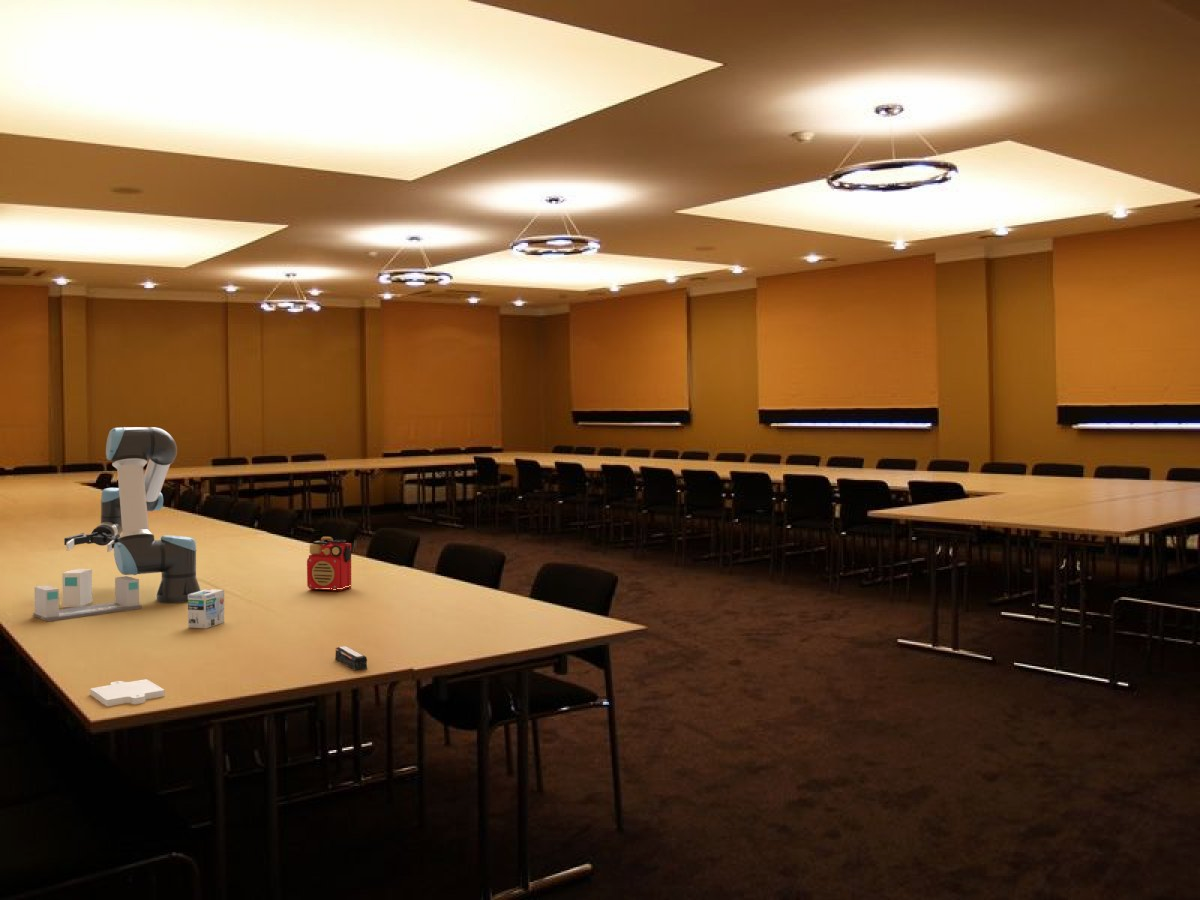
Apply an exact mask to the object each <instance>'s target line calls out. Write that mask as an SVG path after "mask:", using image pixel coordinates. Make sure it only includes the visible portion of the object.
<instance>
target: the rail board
mask: <svg viewBox="0 0 1200 900" xmlns="http://www.w3.org/2000/svg"><path fill="white" fill-rule="evenodd" d="M140 609H142V605H140V604H139V605H136V606H129V607H127V606H124V605H120V604H117V603H115V601H114V602H106V603H98V604H92V605H90V604H89V605H84V606H82V607H66V608H62V609H60V608H59V616H55V617H48V618H45V617H43V616H40V615H37V614H35V612H33V613H32V616H33V617H35V618H37V619H39V620H43V621H45V622H54V621H59V620H68V619H75V618H83V617H89V616H97V615H103V614H112V613H117V612H118V613H119V612H126V611H133V610H140Z"/></svg>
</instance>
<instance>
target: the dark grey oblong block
mask: <svg viewBox="0 0 1200 900" xmlns="http://www.w3.org/2000/svg"><path fill="white" fill-rule="evenodd" d="M334 657H335V658H334V660H336V661H337V662H339V663H341V664H342V665H344V666H346V667H347V668H349V669H351V670H353V671H354V672H357V671H365V670H368V665H367V663H368V658H367V656H365V655H364V654H362V653H360V652H358V651H356V650H355V649H352V648H351V647H349V646H346V645H345V646H337V647H335V655H334Z"/></svg>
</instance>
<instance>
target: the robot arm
mask: <svg viewBox="0 0 1200 900" xmlns="http://www.w3.org/2000/svg"><path fill="white" fill-rule="evenodd" d="M177 455H178V446H177V444H176V441H175V439H174V438H173V437H172V435H171V434H170V433H169V432H167V431H166V430H164V429H163V428H160V427H152V426H151V427H143V426H142V427H140V426H139V427H134V426H133V427H130V426H129V427H127V426H123V427H113V428H112V429H111V430H109V433H108V435H107V439H106V445H105V456H106V457H105V458H106V460H108V461H111V463H112V464H111V465H112V467H114V468H115V469H116V470H117V480H118V487H108V488H104V489H102V491H101V496H100V497H101V499H100V504H101V505H100V524H99V525H98V526H96V527H94V528H93V530H92V531H91V533H88V534H85V533H84V532H81V533H79V534H75V535H72V536H67V537H64V539H63V540H64V541H63V542H64V546H66V547H65V548H66V551H68V552H69V551H70V550H71V549H73V548H74V547H75V546H78V545H82V544H87V545H90V544H91V545H92V544H95V545H97V546H107V547H106V552H107V553H110V552H111V551H113V556H114V561H115V564H116V569H117V570H118V571H119V573H120V574H121V575H125V576H130V575H131V576H132V575H133V576H136V575H145V574H156V573H161V580H160V584H159V586H158V589H157V591H156V602H157V603H166V604H167V603H169V604H175V603H188V594H191V593H195V592H198V591H202V589H201V587H200V585H199V582H198V579H197V545H196V540H195V539H194V538H192V537H190V536H182V535H172V534H171V535H168V534H167V535H164V534H163V535H161V536H160V539H156V540H155V535H154V533H152V532H151V530H150V528H149V515H148V512H153V511H160V510H162V508H163V505H164V496H163V493H162V492H161V491H162V489H163V485H164V484H165V481H166V480H165V479H166V478H167V474H168V473H169V469H170V465H171V464H173V463H174V462H175V460H176V457H177ZM146 465H147V466H146ZM145 466H146V469H145V472H144V467H145Z"/></svg>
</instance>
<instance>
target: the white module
mask: <svg viewBox="0 0 1200 900" xmlns="http://www.w3.org/2000/svg"><path fill="white" fill-rule="evenodd" d="M92 571H93V569H92V568H73V569H71V570H67V571H64V572H62V573H61V574H62V575H61V577H62V578H61V579H62V585H61V586H62V608H75V607H83V606H88V605H90V604H91V603H93V572H92Z"/></svg>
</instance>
